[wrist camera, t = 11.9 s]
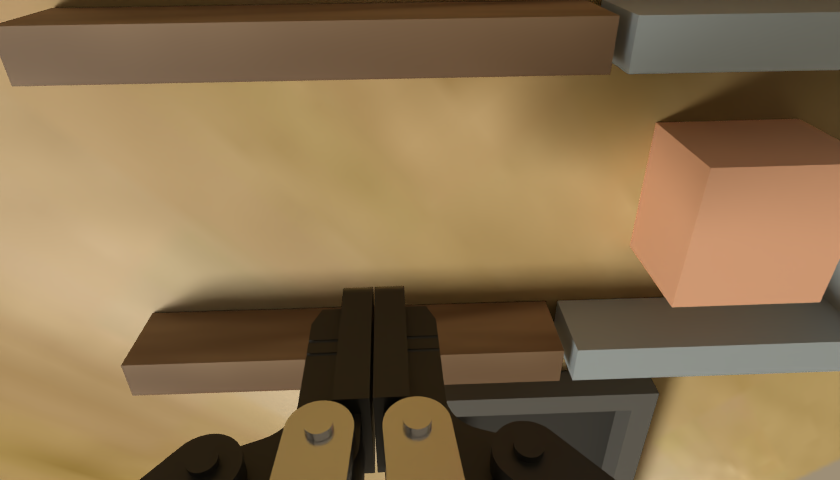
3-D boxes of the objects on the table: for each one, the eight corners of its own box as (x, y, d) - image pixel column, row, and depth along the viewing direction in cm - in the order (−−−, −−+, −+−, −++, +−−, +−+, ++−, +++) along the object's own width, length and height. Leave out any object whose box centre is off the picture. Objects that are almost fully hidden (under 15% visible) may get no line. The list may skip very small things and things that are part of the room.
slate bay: (602, -1, 17) (639, 15, 14) (999, -8, 17) (1104, 7, 15) (553, 328, 24) (572, 380, 21) (840, 319, 24) (893, 368, 21)
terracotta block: (654, 121, 19) (710, 168, 16) (796, 117, 19) (883, 163, 16) (628, 244, 22) (671, 307, 18) (753, 240, 22) (820, 302, 18)
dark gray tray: (424, 376, 25) (426, 401, 23) (645, 368, 25) (659, 393, 24) (425, 511, 30) (427, 538, 29) (608, 503, 30) (618, 530, 29)
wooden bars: (52, 8, 16) (-12, 26, 14) (585, -1, 17) (619, 15, 14) (162, 341, 23) (132, 395, 21) (541, 329, 24) (559, 380, 21)
